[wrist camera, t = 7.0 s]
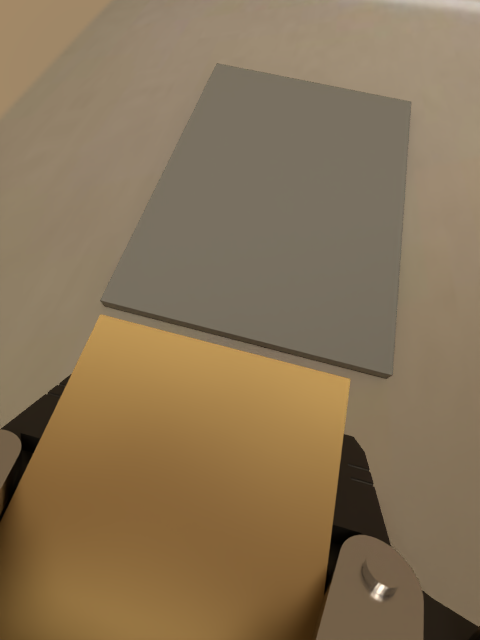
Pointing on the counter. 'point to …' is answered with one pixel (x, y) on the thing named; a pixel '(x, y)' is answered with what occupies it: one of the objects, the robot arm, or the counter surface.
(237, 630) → the block
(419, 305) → the counter surface
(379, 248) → the mat
